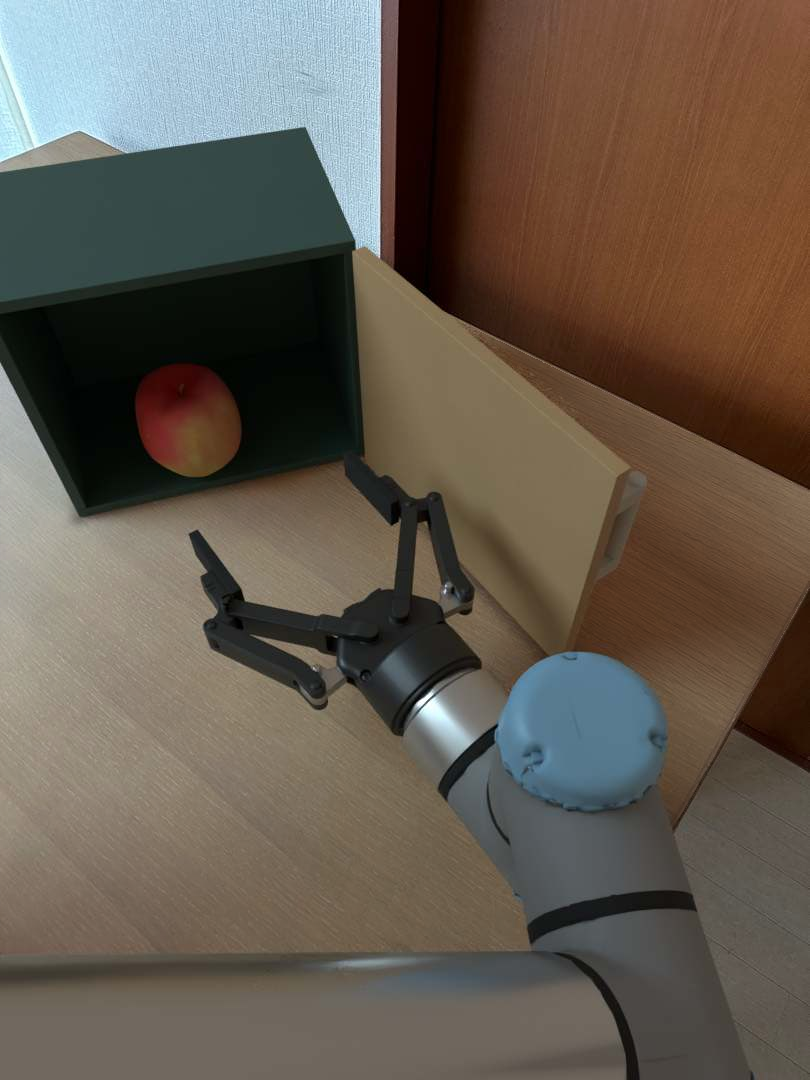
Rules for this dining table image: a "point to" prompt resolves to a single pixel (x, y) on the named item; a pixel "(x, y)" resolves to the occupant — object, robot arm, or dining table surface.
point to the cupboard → (180, 307)
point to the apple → (188, 419)
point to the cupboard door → (489, 457)
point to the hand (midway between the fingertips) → (274, 500)
